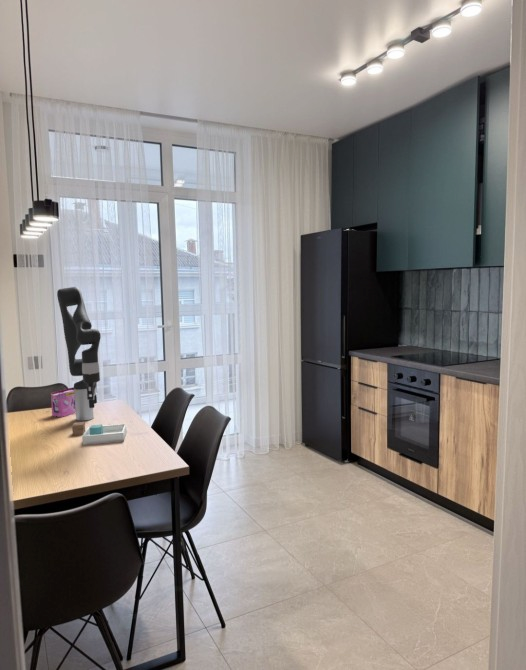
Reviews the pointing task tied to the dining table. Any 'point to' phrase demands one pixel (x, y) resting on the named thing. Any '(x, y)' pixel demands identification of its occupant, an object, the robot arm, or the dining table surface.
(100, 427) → the teal block
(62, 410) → the gum box
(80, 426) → the walnut block
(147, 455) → the dining table surface
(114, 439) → the white tray
